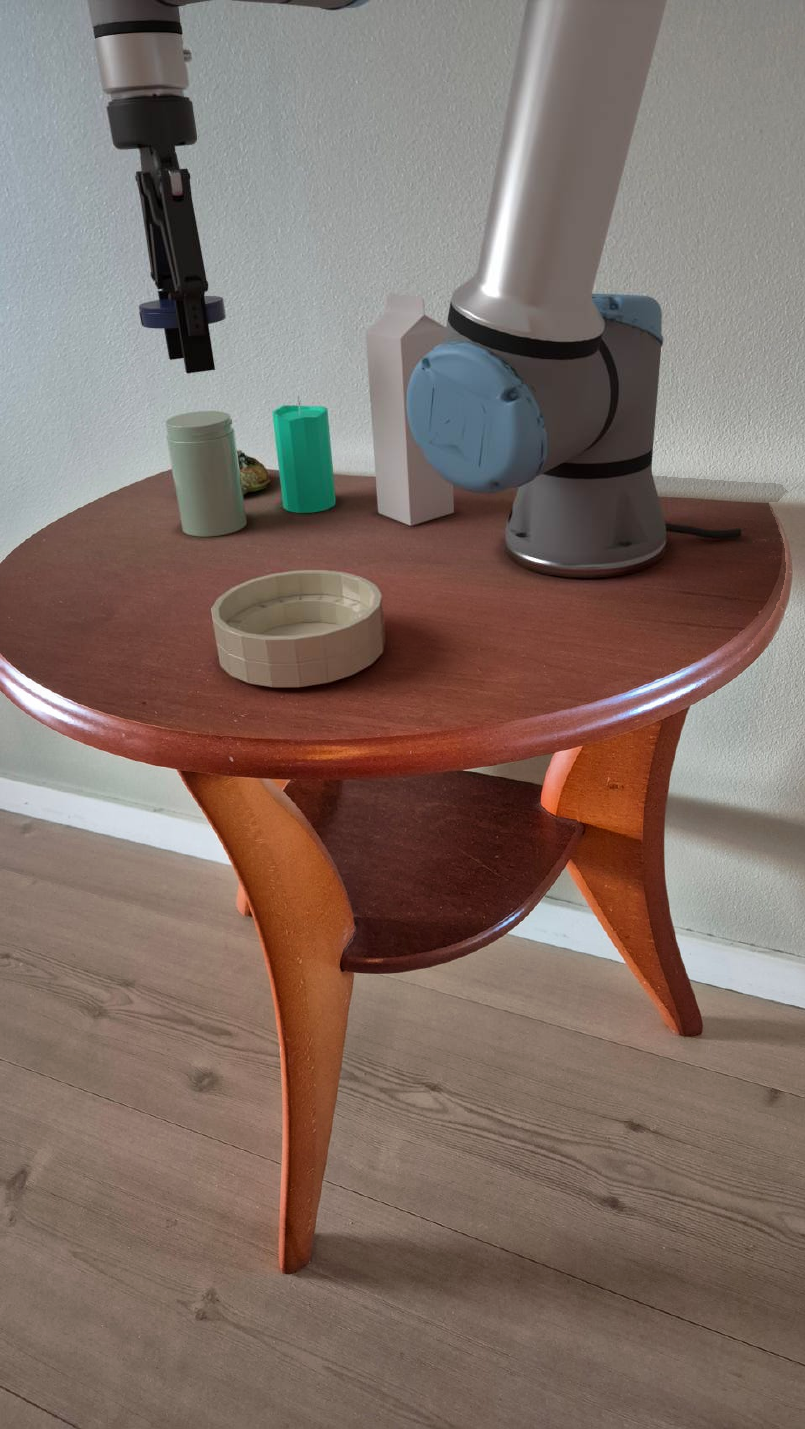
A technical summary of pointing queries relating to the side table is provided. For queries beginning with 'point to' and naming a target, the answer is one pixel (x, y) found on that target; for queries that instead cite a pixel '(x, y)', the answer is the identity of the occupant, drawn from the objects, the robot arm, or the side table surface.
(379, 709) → the side table surface
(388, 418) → the milk
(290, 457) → the candle
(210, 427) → the jar
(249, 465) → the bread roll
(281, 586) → the dish
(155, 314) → the lid
